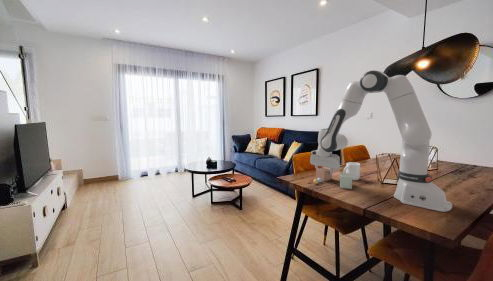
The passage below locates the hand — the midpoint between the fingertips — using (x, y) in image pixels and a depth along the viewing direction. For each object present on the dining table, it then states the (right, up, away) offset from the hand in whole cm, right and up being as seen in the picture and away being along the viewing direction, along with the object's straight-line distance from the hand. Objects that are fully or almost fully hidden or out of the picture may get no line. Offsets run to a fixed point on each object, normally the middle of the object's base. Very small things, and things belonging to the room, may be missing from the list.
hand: (324, 173), depth 144 cm
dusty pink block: (0, -4, 0) cm, 4 cm away
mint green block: (+8, -6, -13) cm, 17 cm away
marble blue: (-5, -5, -6) cm, 9 cm away
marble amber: (-8, -5, -8) cm, 13 cm away
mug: (+18, -4, 0) cm, 18 cm away
